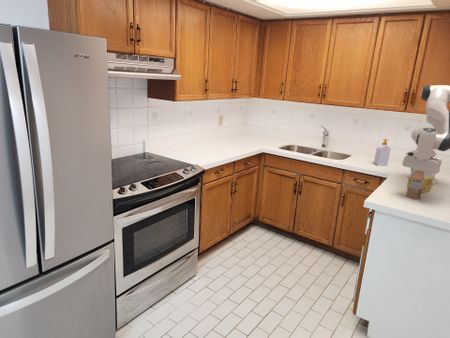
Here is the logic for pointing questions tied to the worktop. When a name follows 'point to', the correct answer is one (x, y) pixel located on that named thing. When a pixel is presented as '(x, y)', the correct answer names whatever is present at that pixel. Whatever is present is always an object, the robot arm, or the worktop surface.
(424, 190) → the cheese
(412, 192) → the walnut block
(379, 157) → the soap bottle
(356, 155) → the worktop surface
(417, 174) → the peach brown rounded dome
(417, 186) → the grey block
